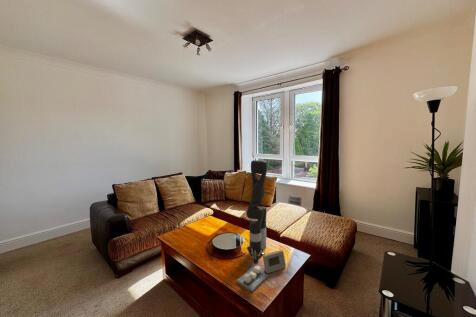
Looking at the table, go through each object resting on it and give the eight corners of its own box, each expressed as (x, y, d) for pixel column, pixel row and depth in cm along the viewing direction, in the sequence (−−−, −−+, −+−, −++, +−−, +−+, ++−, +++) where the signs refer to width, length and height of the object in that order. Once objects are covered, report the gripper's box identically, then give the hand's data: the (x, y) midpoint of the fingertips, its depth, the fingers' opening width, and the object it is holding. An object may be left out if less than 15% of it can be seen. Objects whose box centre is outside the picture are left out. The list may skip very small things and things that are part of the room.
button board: (237, 282, 122) (236, 279, 121) (252, 268, 133) (252, 266, 133) (252, 292, 114) (252, 289, 113) (267, 276, 126) (267, 274, 125)
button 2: (247, 279, 123) (247, 274, 123) (251, 275, 127) (251, 270, 126) (253, 282, 120) (253, 277, 120) (257, 278, 124) (257, 273, 123)
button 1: (242, 282, 119) (242, 277, 119) (247, 277, 123) (246, 272, 122) (248, 285, 116) (248, 280, 116) (252, 281, 120) (252, 276, 119)
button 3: (252, 273, 127) (252, 268, 126) (256, 269, 130) (256, 264, 130) (258, 276, 124) (258, 271, 123) (262, 272, 127) (262, 267, 127)
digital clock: (265, 274, 128) (265, 259, 126) (260, 265, 136) (260, 251, 135) (288, 270, 131) (288, 255, 130) (282, 262, 140) (282, 248, 138)
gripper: (243, 237, 125) (244, 261, 128) (260, 244, 116) (260, 271, 119) (250, 232, 131) (251, 256, 133) (267, 239, 122) (267, 264, 124)
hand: (255, 263), depth 126 cm, fingers closed
